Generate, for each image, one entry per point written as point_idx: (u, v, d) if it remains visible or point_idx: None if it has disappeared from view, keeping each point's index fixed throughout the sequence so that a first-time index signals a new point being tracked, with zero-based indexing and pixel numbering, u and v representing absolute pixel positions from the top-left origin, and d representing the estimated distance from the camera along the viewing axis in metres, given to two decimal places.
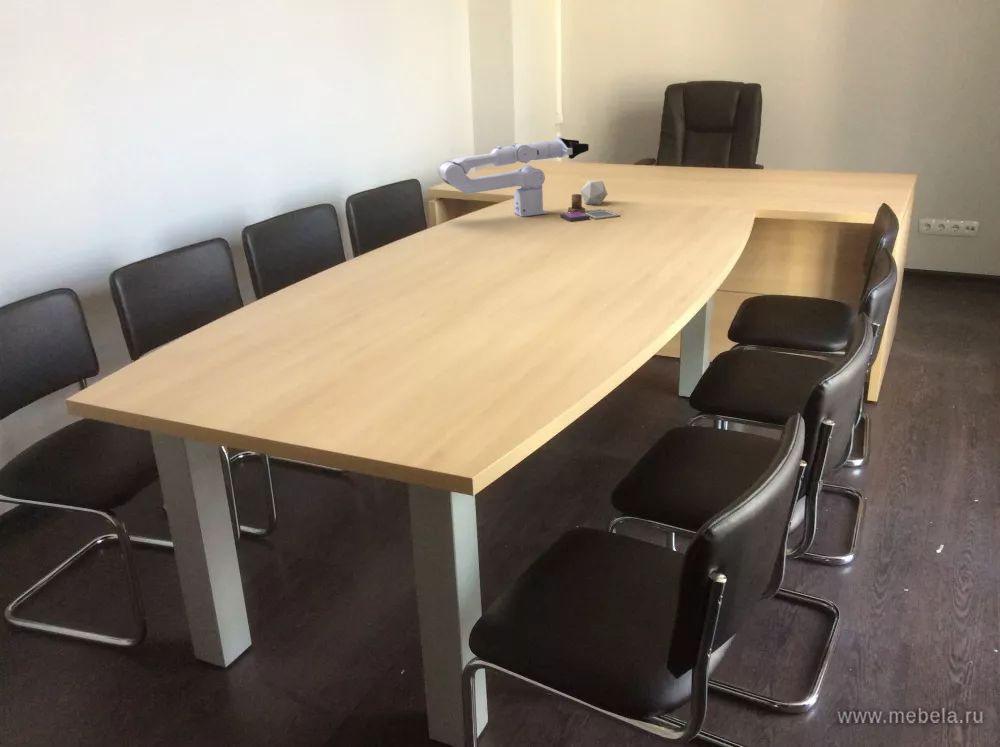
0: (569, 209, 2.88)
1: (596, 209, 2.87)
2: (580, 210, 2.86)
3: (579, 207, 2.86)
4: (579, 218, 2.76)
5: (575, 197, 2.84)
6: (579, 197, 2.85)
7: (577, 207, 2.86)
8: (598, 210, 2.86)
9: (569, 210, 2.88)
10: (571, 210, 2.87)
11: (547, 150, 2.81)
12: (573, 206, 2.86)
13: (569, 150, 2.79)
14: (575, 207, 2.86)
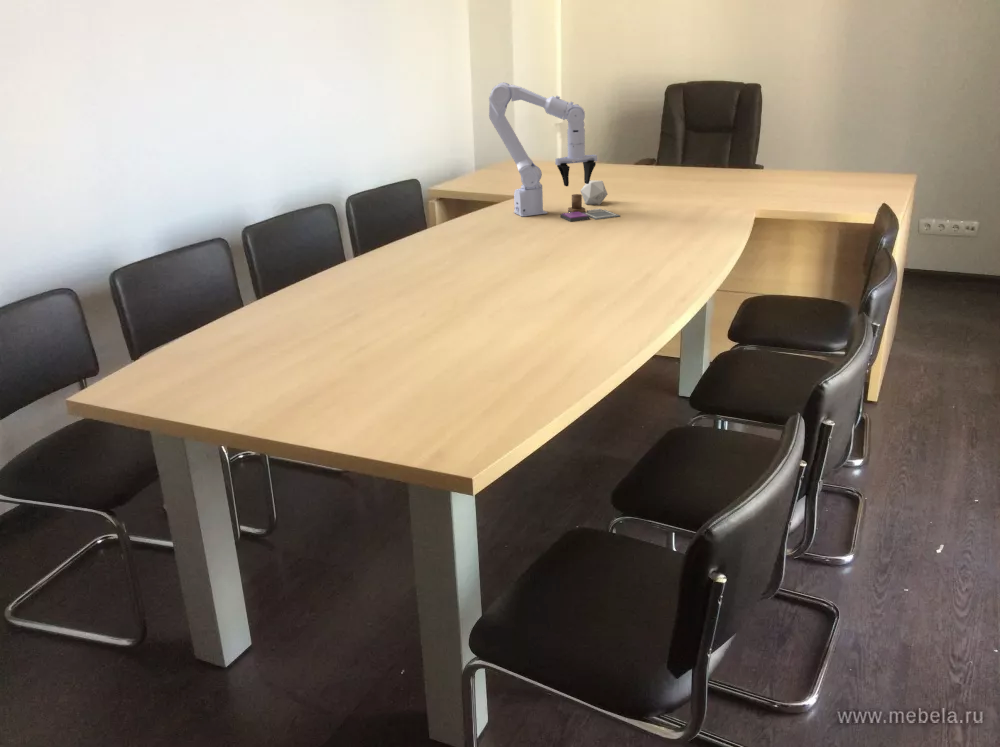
0: (569, 209, 2.88)
1: (596, 209, 2.87)
2: (580, 210, 2.86)
3: (579, 207, 2.86)
4: (579, 218, 2.76)
5: (575, 197, 2.84)
6: (579, 197, 2.85)
7: (577, 207, 2.86)
8: (598, 210, 2.86)
9: (569, 210, 2.88)
10: (571, 210, 2.87)
11: (576, 142, 2.76)
12: (573, 206, 2.86)
13: (557, 161, 2.79)
14: (575, 207, 2.86)
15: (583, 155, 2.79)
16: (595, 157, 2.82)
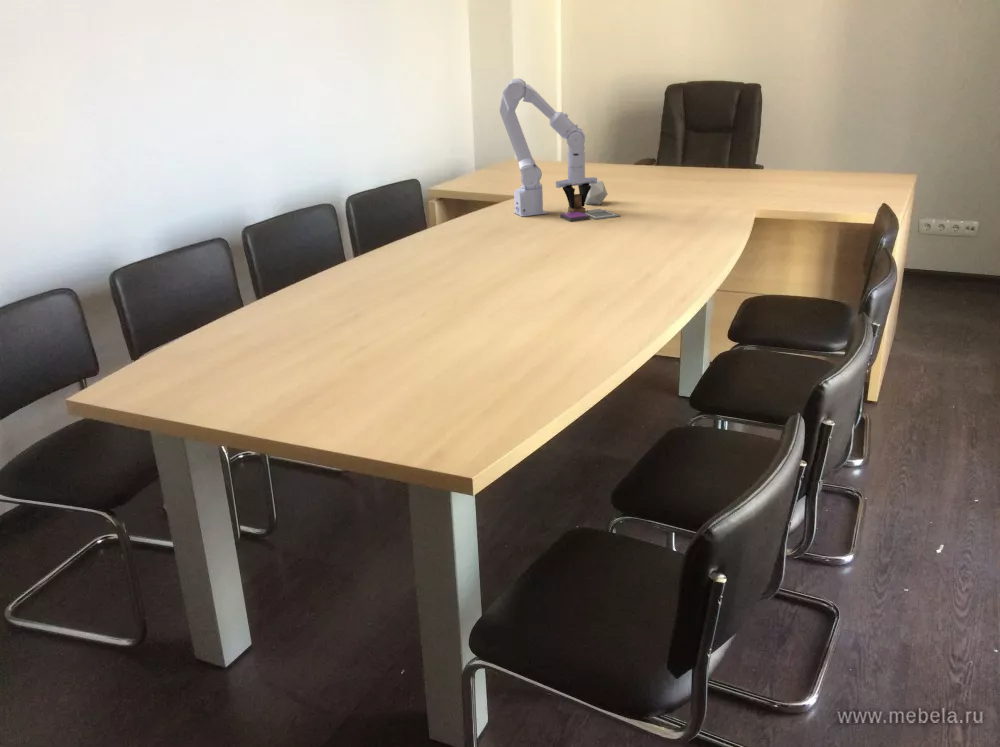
0: (569, 209, 2.88)
1: (596, 209, 2.87)
2: (580, 210, 2.86)
3: (579, 207, 2.86)
4: (579, 218, 2.76)
5: (575, 197, 2.84)
6: (579, 197, 2.85)
7: (577, 207, 2.86)
8: (598, 210, 2.86)
9: (569, 210, 2.88)
10: (571, 210, 2.86)
11: (576, 165, 2.79)
12: None
13: (557, 184, 2.81)
14: (575, 207, 2.86)
15: (583, 178, 2.82)
16: (595, 180, 2.85)
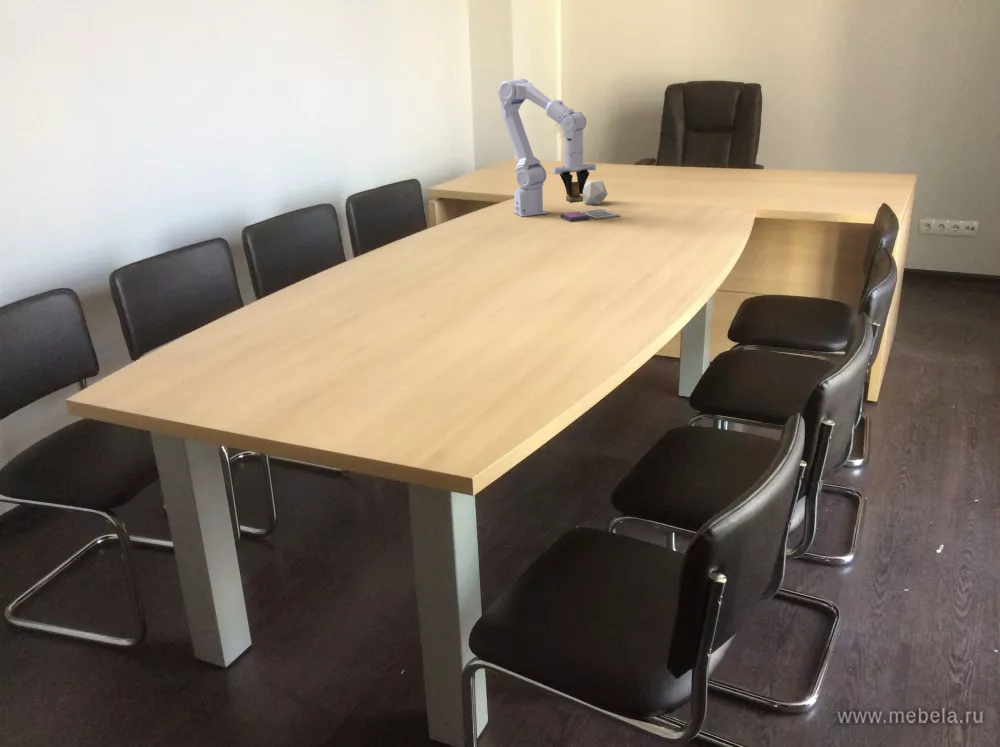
0: (567, 197, 2.78)
1: (596, 209, 2.87)
2: (577, 198, 2.75)
3: (576, 195, 2.75)
4: (579, 218, 2.76)
5: (572, 185, 2.74)
6: (576, 185, 2.74)
7: (574, 195, 2.75)
8: (598, 210, 2.86)
9: (567, 198, 2.78)
10: (568, 198, 2.76)
11: (569, 150, 2.69)
12: None
13: (554, 170, 2.71)
14: (572, 195, 2.75)
15: (581, 164, 2.71)
16: (594, 166, 2.74)
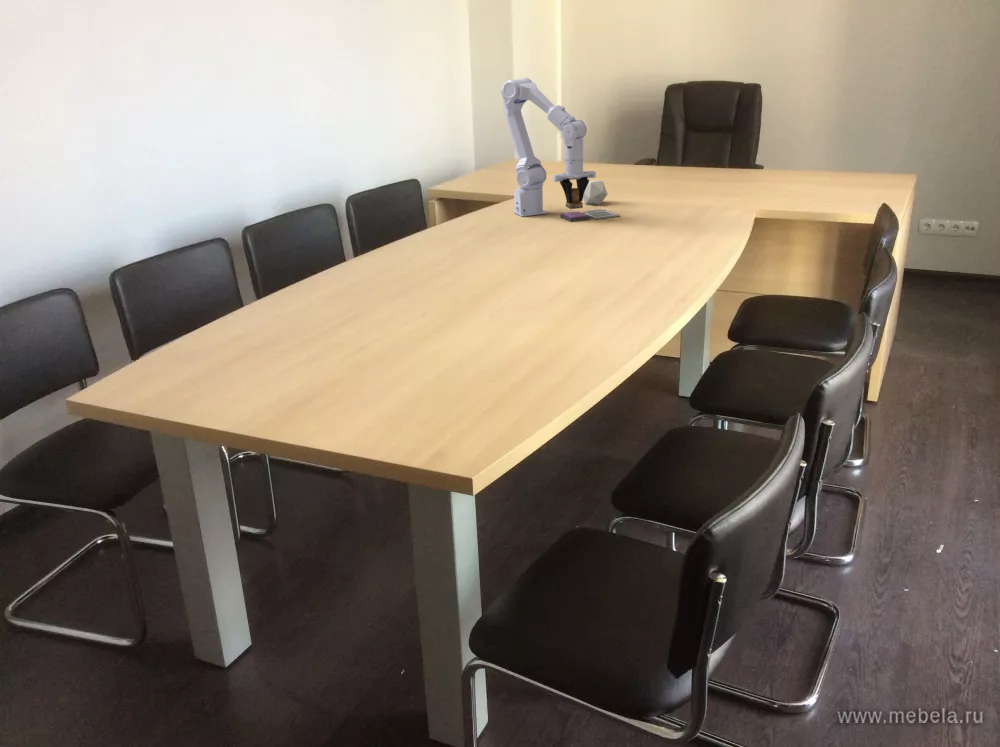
0: (566, 203, 2.79)
1: (596, 209, 2.87)
2: (577, 205, 2.76)
3: (576, 201, 2.76)
4: (579, 218, 2.76)
5: (572, 191, 2.75)
6: (576, 191, 2.75)
7: (574, 201, 2.76)
8: (598, 210, 2.86)
9: (566, 204, 2.79)
10: (568, 204, 2.77)
11: (570, 158, 2.70)
12: None
13: (554, 178, 2.72)
14: (572, 201, 2.76)
15: (581, 172, 2.72)
16: (593, 174, 2.75)
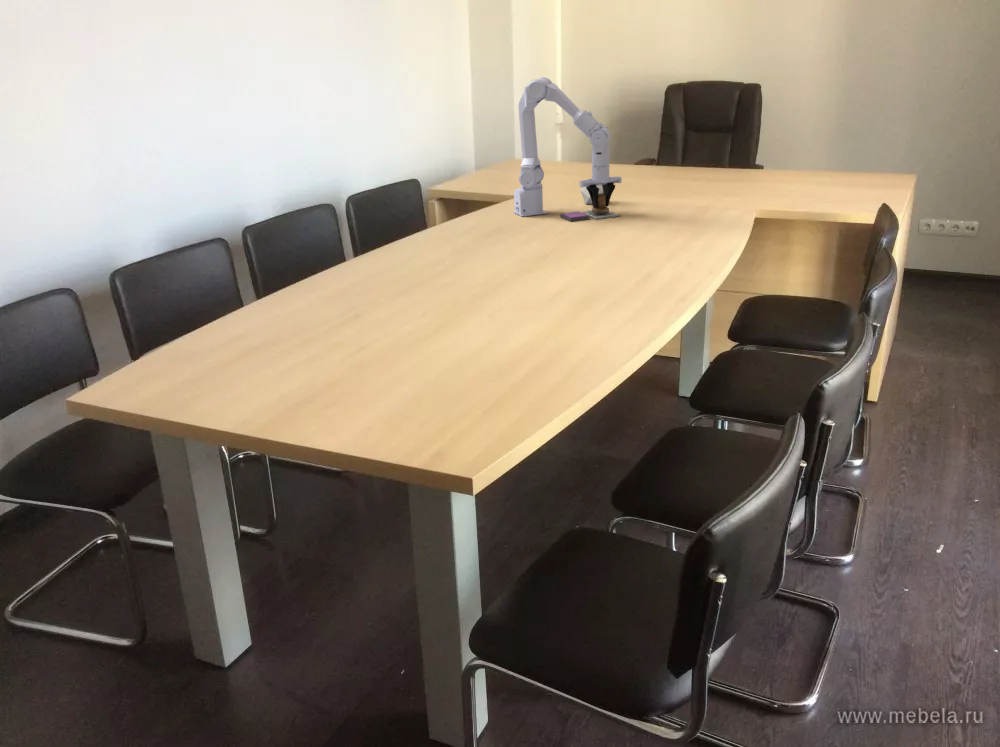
0: (593, 209, 2.82)
1: None
2: (603, 210, 2.80)
3: (603, 207, 2.80)
4: (579, 218, 2.76)
5: (599, 196, 2.79)
6: (603, 197, 2.79)
7: (600, 207, 2.80)
8: None
9: (593, 210, 2.83)
10: (594, 210, 2.81)
11: (599, 164, 2.73)
12: None
13: (581, 184, 2.76)
14: (598, 207, 2.80)
15: (608, 177, 2.76)
16: (619, 179, 2.79)
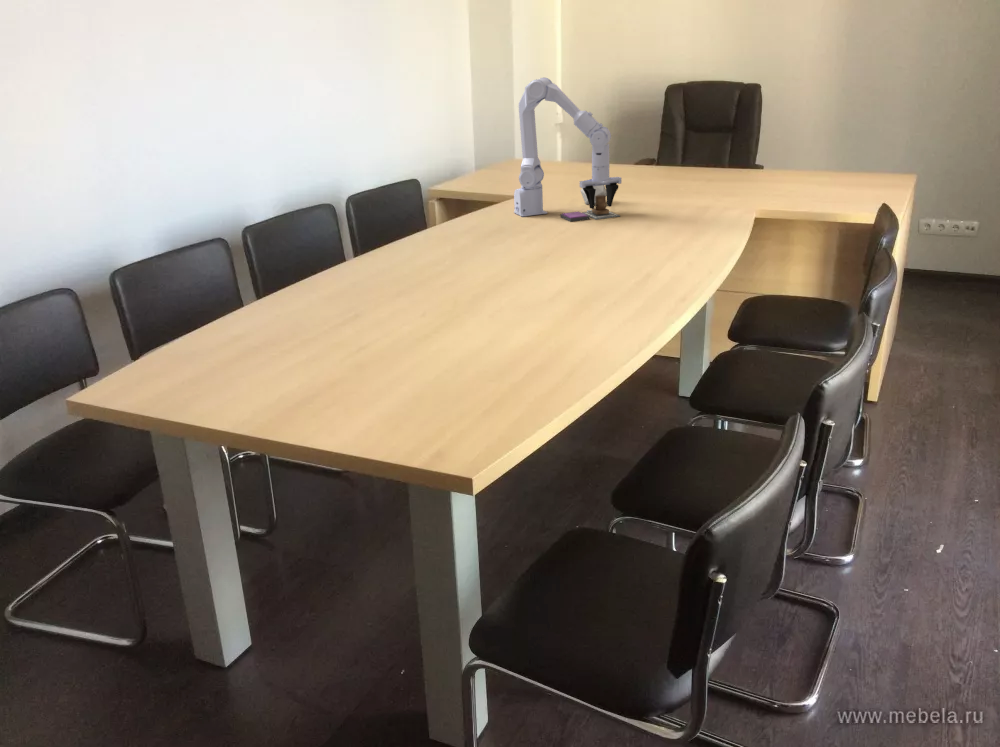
0: (593, 210, 2.83)
1: None
2: (603, 211, 2.80)
3: (602, 208, 2.80)
4: (579, 218, 2.76)
5: (598, 198, 2.79)
6: (603, 198, 2.79)
7: (600, 208, 2.80)
8: None
9: (593, 211, 2.83)
10: (594, 211, 2.81)
11: (599, 164, 2.73)
12: (596, 207, 2.81)
13: (581, 184, 2.76)
14: (598, 208, 2.80)
15: (608, 178, 2.76)
16: (619, 179, 2.79)
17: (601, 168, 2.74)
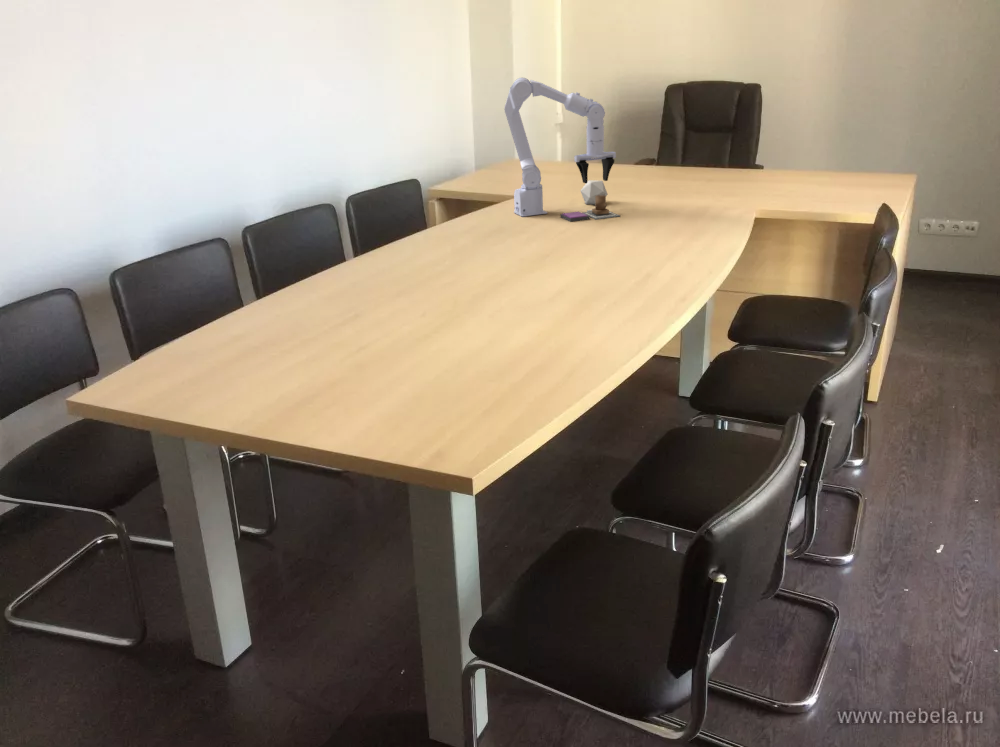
0: (593, 210, 2.83)
1: None
2: (603, 211, 2.80)
3: (602, 208, 2.80)
4: (579, 218, 2.76)
5: (598, 198, 2.79)
6: (603, 198, 2.79)
7: (600, 208, 2.80)
8: None
9: (593, 211, 2.83)
10: (594, 211, 2.81)
11: (596, 138, 2.77)
12: (596, 207, 2.81)
13: (576, 158, 2.79)
14: (598, 208, 2.80)
15: (602, 152, 2.80)
16: (614, 154, 2.83)
17: (595, 142, 2.78)
